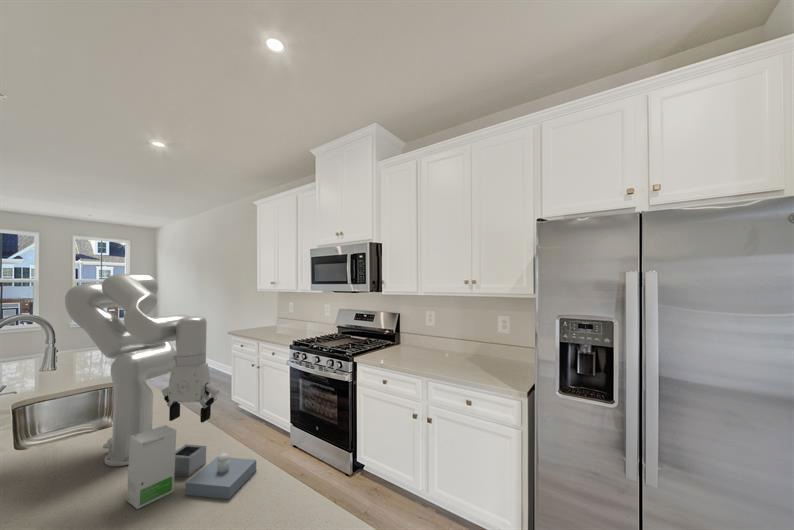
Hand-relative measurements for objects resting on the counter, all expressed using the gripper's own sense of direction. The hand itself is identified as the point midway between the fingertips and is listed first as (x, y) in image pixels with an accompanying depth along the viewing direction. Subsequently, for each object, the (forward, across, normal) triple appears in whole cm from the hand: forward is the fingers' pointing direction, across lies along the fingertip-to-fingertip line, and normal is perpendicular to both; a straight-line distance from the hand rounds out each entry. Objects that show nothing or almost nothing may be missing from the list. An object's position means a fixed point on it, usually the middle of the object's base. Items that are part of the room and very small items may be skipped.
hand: (189, 419), depth 93 cm
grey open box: (+14, -1, 0) cm, 14 cm away
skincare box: (+14, -1, -11) cm, 18 cm away
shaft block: (+14, +13, -4) cm, 20 cm away
